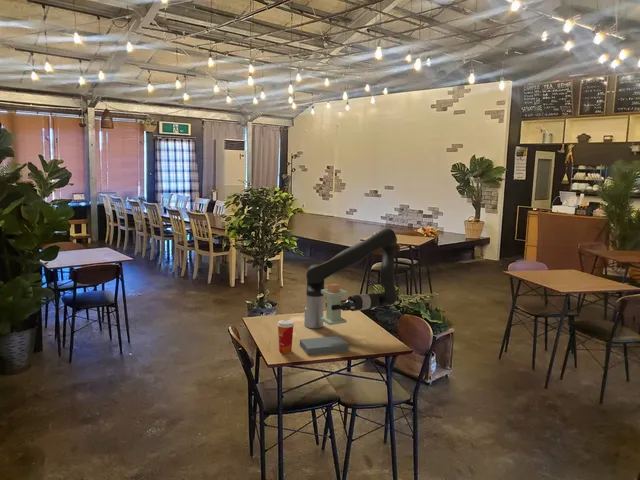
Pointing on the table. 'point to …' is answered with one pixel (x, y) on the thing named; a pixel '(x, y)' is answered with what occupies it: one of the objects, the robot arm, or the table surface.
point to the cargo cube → (333, 288)
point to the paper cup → (285, 336)
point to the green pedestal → (333, 315)
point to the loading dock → (324, 345)
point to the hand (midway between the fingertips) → (328, 306)
